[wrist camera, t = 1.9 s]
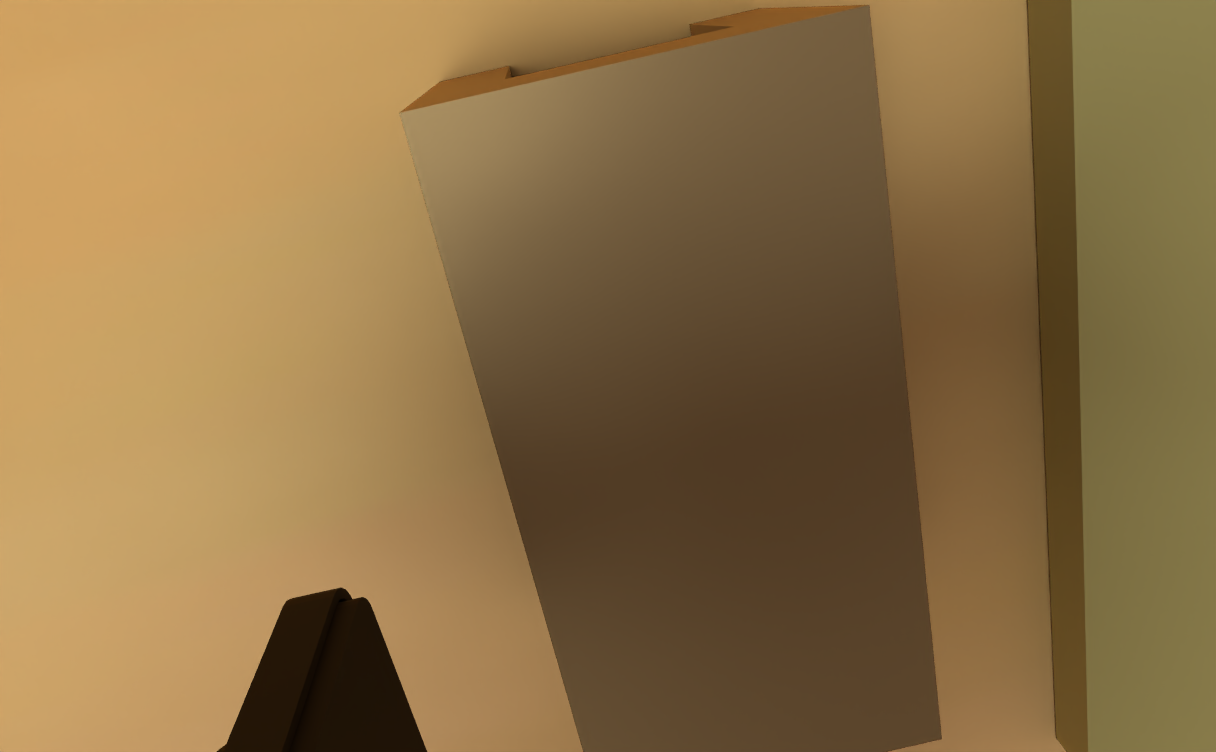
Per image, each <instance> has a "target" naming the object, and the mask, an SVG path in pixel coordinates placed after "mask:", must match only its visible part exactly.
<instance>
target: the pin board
mask: <svg viewBox="0 0 1216 752" xmlns="http://www.w3.org/2000/svg"><path fill="white" fill-rule="evenodd" d="M1028 26H1029V52H1030V77H1031V103H1032V129H1033V155H1034V180H1035V206H1036V232H1037V258H1038V283H1039V309H1040V335H1041V360H1042V386H1043V412H1044V438H1045V463H1046V489H1047V515H1048V541H1049V566H1050V592H1051V618H1052V644H1053V669H1054V695H1055V721H1056V738H1057V739H1058V741H1059V742H1060V744H1061V745H1062V746H1063V748H1064V749H1065V750H1066V752H1216V0H1028Z"/></svg>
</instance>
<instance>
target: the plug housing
mask: <svg viewBox="0 0 1216 752" xmlns="http://www.w3.org/2000/svg"><path fill="white" fill-rule="evenodd" d="M690 30H691V37H687V38H682V39H678V40H674V41H669V42H665V43H661V44H656V45H652V46H647V47H643V48H639V49H634V50H630V51H626V52H621V53H617V54H613V55H608V56H604V57H600V58H595V59H591V60H587V61H582V62H578V63H574V64H569V65H565V66H560V67H556V68H552V69H547V70H543V71H539V72H534V73H530V74H526V75H521V76H517V77H513V78H512V76H511V72H510V68H509V66H506V67H502V68H497V69H493V70H489V71H484V72H480V73H476V74H471V75H467V76H463V77H458V78H454V79H450V80H445V81H441V82H439V83H438V84H436V85H435V86H434V87H432V88H431V89H430V90H429V91H427V92H426V93H425V94H423V95H422V96H421V97H419V98H418V99H417V100H416V101H414V102H413V103H412V104H410V105H409V106H408V107H406V108H405V109H404V110H402V111H401V112H400V113H399V114H400V117H401V121H402V124H403V128H404V131H405V135H406V138H407V141H408V145H409V148H410V152H411V155H412V159H413V162H414V166H415V169H416V173H417V176H418V180H419V183H420V187H421V190H422V194H423V197H424V200H425V204H426V207H427V211H428V214H429V218H430V221H431V225H432V228H433V232H434V235H435V239H436V242H437V246H438V249H439V252H440V256H441V259H442V263H443V266H444V270H445V273H446V277H447V280H448V284H449V287H450V291H451V294H452V298H453V301H454V305H455V308H456V311H457V315H458V318H459V322H460V325H461V329H462V332H463V336H464V339H465V343H466V346H467V350H468V353H469V357H470V360H471V363H472V367H473V370H474V374H475V377H476V381H477V384H478V388H479V391H480V395H481V398H482V402H483V405H484V409H485V412H486V416H487V419H488V422H489V426H490V429H491V433H492V436H493V440H494V443H495V447H496V450H497V454H498V457H499V461H500V464H501V468H502V471H503V474H504V478H505V481H506V485H507V488H508V492H509V495H510V499H511V502H512V506H513V509H514V513H515V516H516V520H517V523H518V527H519V530H520V533H521V537H522V540H523V544H524V547H525V551H526V554H527V558H528V561H529V565H530V568H531V572H532V575H533V579H534V582H535V585H536V589H537V592H538V596H539V599H540V603H541V606H542V610H543V613H544V617H545V620H546V624H547V627H548V631H549V634H550V638H551V641H552V644H553V648H554V651H555V655H556V658H557V662H558V665H559V669H560V672H561V676H562V679H563V683H564V686H565V690H566V693H567V696H568V700H569V703H570V707H571V710H572V714H573V717H574V721H575V724H576V728H577V731H578V735H579V738H580V742H581V745H582V749H583V752H888V751H892V750H896V749H901V748H905V747H909V746H914V745H918V744H922V743H927V742H931V741H935V740H940V739H942V735H941V725H940V715H939V705H938V695H937V685H936V675H935V665H934V654H933V644H932V634H931V624H930V614H929V604H928V594H927V584H926V574H925V563H924V553H923V543H922V533H921V523H920V513H919V503H918V493H917V483H916V472H915V462H914V452H913V442H912V432H911V422H910V412H909V402H908V392H907V381H906V371H905V361H904V351H903V341H902V331H901V321H900V311H899V301H898V290H897V280H896V270H895V260H894V250H893V240H892V230H891V220H890V210H889V199H888V189H887V179H886V169H885V159H884V149H883V139H882V129H881V119H880V108H879V98H878V88H877V78H876V68H875V58H874V48H873V38H872V28H871V17H870V7H869V5H852V6H821V7H789V8H759V9H754V10H750V11H745V12H741V13H737V14H732V15H728V16H724V17H719V18H715V19H711V20H706V21H702V22H698V23H693V24H690Z"/></svg>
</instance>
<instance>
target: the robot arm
mask: <svg viewBox="0 0 1216 752" xmlns="http://www.w3.org/2000/svg"><path fill="white" fill-rule="evenodd" d="M217 752H427V750H426V748H425V745H424V742H423V740H422V737H421V735H420V732H419V729H418V727H417V724H416V722H415V719H414V716H413V714H412V711H411V709H410V706H409V703H408V701H407V698H406V695H405V693H404V690H403V688H402V685H401V682H400V680H399V677H398V675H397V672H396V669H395V667H394V664H393V661H392V659H391V656H390V654H389V651H388V648H387V646H386V643H385V641H384V638H383V635H382V633H381V630H380V628H379V625H378V622H377V620H376V617H375V614H374V612H373V609H372V607H371V605H370V603H369V602H368V600H367V599H366V598H364V597H361V598H357V599H352V598H351V596H350V594H349V593H348V592H347V591H346V589H343V588H337V589H333V590H328V591H323V592H319V593H314V594H310V595H305V596H301V597H296V598H292V599H289V600H287V601H286V603H285V604H284V606H283V608H282V610H281V613H280V615H279V617H278V620H277V622H276V625H275V627H274V630H273V632H272V635H271V637H270V639H269V642H268V644H267V647H266V649H265V652H264V654H263V656H262V659H261V661H260V664H259V666H258V669H257V671H256V673H255V676H254V678H253V681H252V683H251V686H250V688H249V690H248V693H247V695H246V698H245V700H244V703H243V705H242V707H241V710H240V712H239V715H238V717H237V720H236V722H235V724H234V727H233V729H232V732H231V734H230V737H229V739H228V742H227V744H226V745H225V746H223V747H222V748H221V749H219V750H218V751H217Z"/></svg>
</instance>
